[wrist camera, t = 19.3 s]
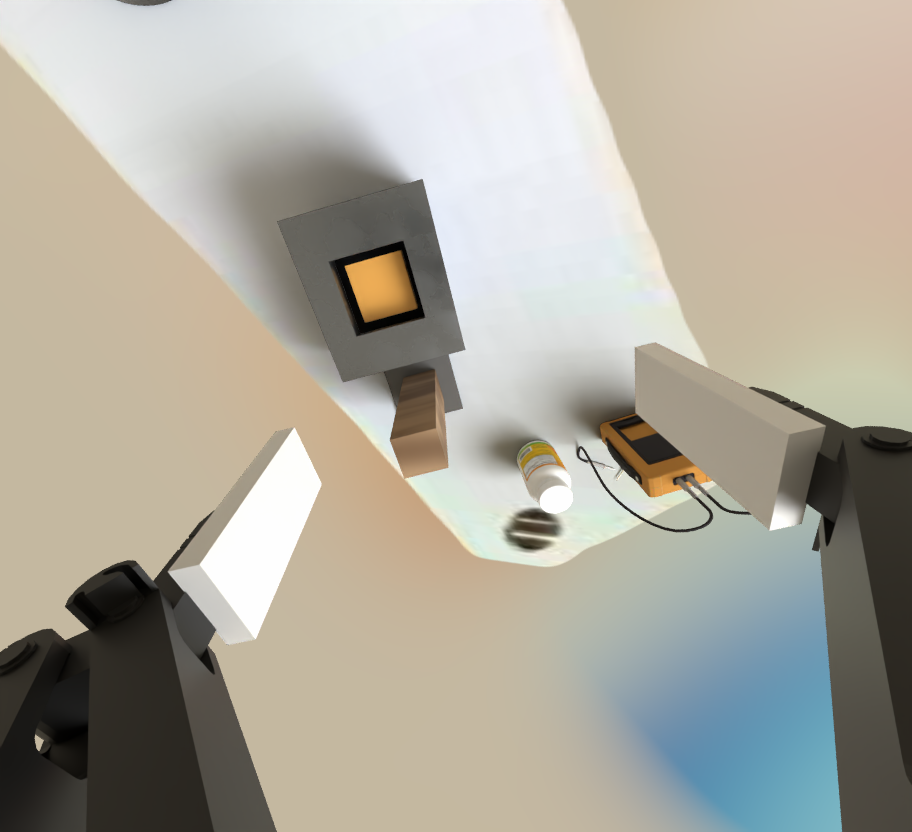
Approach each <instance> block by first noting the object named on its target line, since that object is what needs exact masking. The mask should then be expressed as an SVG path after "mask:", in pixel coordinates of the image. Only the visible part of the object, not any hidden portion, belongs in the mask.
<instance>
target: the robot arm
mask: <svg viewBox="0 0 912 832" xmlns="http://www.w3.org/2000/svg"><path fill="white" fill-rule="evenodd" d="M118 1H121V2H124V3H128V4H133V5H143V6H149V5H158V4H162V3H166V2H168V1H171V0H118ZM635 413H636V414H638V415H639V416H640V417H641V418H642V419H643V420H644V421H645V422H647V423H648V424H649V425H650V426H651V427H652V428H653V429H655V430H656V431H657V432H658V433H659V434H660V435H661V436H663V437H664V438H665V439H666V440H667V441H668V442H669V443H671V444H672V445H673V446H674V447H675V448H676V449H677V450H679V451H680V452H681V453H682V454H683V455H684V456H685V457H687V458H688V459H689V460H690V461H691V462H692V463H693V464H695V465H696V466H697V467H698V468H699V469H700V470H701V471H702V472H704V473H705V474H706V475H707V476H708V477H709V478H710V479H712V480H713V481H714V482H715V483H716V484H717V485H719V486H720V487H721V488H722V489H723V490H724V491H725V492H726V493H728V494H729V495H730V496H731V497H732V498H733V499H734V500H736V501H737V502H738V503H739V504H740V505H741V506H742V507H744V508H745V509H746V510H747V511H748V512H749V513H750V514H752V515H753V516H754V517H755V518H756V519H757V520H758V521H760V522H761V523H762V524H763V525H764V526H765V527H766V528H768V529H769V530H774V529H779V528H784V527H789V526H793V525H798V524H801V523H802V520H803V516H804V512H805V508H806V504H808V505H809V506H811V507H812V508H814V509H815V510H816V511H818V512H819V513H821V514H822V516H821V520H820V523H819V526H818V530H817V533H816V537H815V541H814V544H813V548H812V550H814V551H819V549H820V553H821V566H822V577H823V591H824V604H825V617H826V629H827V642H828V654H829V668H830V681H831V693H832V706H833V719H834V732H835V745H836V758H837V770H838V783H839V795H840V808H841V820H842V821H841V822H842V832H912V433H911V432H908V431H904V430H901V429H895V428H888V427H877V426H876V427H875V426H874V427H873V426H865V427H858V428H853V429H852V428H850V427H847V426H846V425H843V424H841V423H839V422H837V421H835V420H833V419H830V418H828V417H826V416H824V415H822V414H820V413H818V412H815V411H813V410H811V409H809V408H804V406H802V405H800V404H798V403H796V402H794V401H792V402H791V401H790V400H789V399H788V398H785V397H783V396H781V395H779V394H777V393H774V392H771V391H767V390H763V389H759V388H755V387H749V388H747V387H745V386H743V385H741V384H739V383H737V382H735V381H733V380H731V379H729V378H727V377H725V376H723V375H721V374H719V373H717V372H715V371H713V370H711V369H709V368H707V367H704V366H702V365H700V364H698V363H696V362H694V361H692V360H690V359H688V358H686V357H684V356H682V355H680V354H678V353H676V352H674V351H672V350H670V349H668V348H666V347H664V346H662V345H660V344H657V343H651V344H647V345H643V346H638V347H635ZM321 485H322V484H321V482H320V480H319V478H318V475H317V473H316V471H315V470H314V467H313V465H312V463H311V461H310V459H309V457H308V454H307V453H306V450H305V448H304V446H303V444H302V442H301V440H300V438H299V436H298V434H297V431H296V429H295V428H294V427H293V428H289V429H285V430H281V431H276V432H275V433H274V434H273V436H272V437H271V438H270V440H269V441H268V442H267V443H266V445H265V446H264V447H263V449H262V450H261V451H260V452H259V454H258V455H257V456H256V458H255V459H254V460H253V462H252V463H251V464H250V465H249V467H248V468H247V469H246V471H245V472H244V473H243V474H242V476H241V477H240V478H239V480H238V481H237V482H236V484H235V485H234V486H233V487H232V489H231V490H230V491H229V493H228V494H227V495H226V497H225V498H224V499H223V500H222V502H221V503H220V504H219V506H218V507H217V508H216V510H214V511H213V512H212V513H210V514H209V515H208V516H207V517H206V518H205V519H203V520H202V521H201V522H200V523H199V524H198V525H197V527H196V528H195V529H194V530H193V532H192V533H191V534H190V535H189V538H188V539H186V540H185V542H184V543H183V544H182V545H181V547H180V550H177V552H176V553H175V554H174V555H173V557H172V558H171V559H170V561H169V562H168V563H167V564H166V566H165V567H164V568H163V569H162V571H161V572H160V573H159V575H158V576H157V577H156V578H155V580H154V581H152V580H151V578H150V577H149V576H148V575H147V574H146V573H145V571H144V570H143V569H142V568H141V567H140V566H139V564H138V563H137V562H136V561H130V560H127V561H124V562H121V563H117V564H115V565H112V566H110V567H108V568H106V569H104V570H102V571H101V572H99V573H98V574H96V575H94V576H93V577H91V578H90V579H89V580H87V581H86V582H85V583H84V584H82V585H81V586H80V587H79V588H78V589H77V590H76V591H75V592H74V593H73V594H72V595H71V596H70V597H69V599H68V601H67V603H66V605H65V607H66V608H67V609H68V610H69V611H70V612H71V613H72V614H73V615H74V616H75V617H76V618H77V619H78V620H80V622H82V623H83V624H84V625H85V626H86V627H87V628H88V629H89V630H88V631H86V632H83V633H81V634H79V635H77V636H74V637H72V638H70V639H68V640H64V639H63V638H62V637H61V636H60V635H58V634H57V633H56V632H55V631H54V630H53V629H43V630H40V631H37V632H35V633H32V634H30V635H28V636H26V637H25V638H23V639H21V640H19V641H16V642H14V643H13V644H11V645H10V646H8V648H7V649H6V648H5V649H4V650H3V651H1V652H0V832H277V831H276V828H275V825H274V822H273V820H272V817H271V814H270V811H269V808H268V805H267V803H266V799H265V797H264V794H263V791H262V788H261V785H260V782H259V779H258V776H257V773H256V771H255V768H254V765H253V762H252V759H251V756H250V754H249V751H248V748H247V745H246V742H245V739H244V736H243V733H242V730H241V727H240V725H239V722H238V719H237V716H236V714H235V710H234V707H233V705H232V702H231V699H230V696H229V693H228V690H227V687H226V684H225V682H224V679H223V676H222V673H221V670H220V667H219V664H218V661H217V658H216V656H215V654H214V652H213V651H212V650H211V649H210V648H209V646H208V644H209V642H210V640H211V638H212V637H213V635H214V633H215V631H216V632H217V633H218V634H219V635H220V637H221V638H222V639H223V640H224V642H225V643H226V644H227V645H230V644H235V643H240V642H244V641H249V640H254V639H256V637H257V635H258V632H259V630H260V628H261V625H262V623H263V620H264V618H265V616H266V613H267V611H268V609H269V606H270V604H271V602H272V599H273V597H274V594H275V592H276V590H277V588H278V585H279V583H280V580H281V578H282V576H283V574H284V571H285V569H286V567H287V564H288V562H289V560H290V557H291V555H292V552H293V550H294V548H295V545H296V543H297V541H298V538H299V536H300V533H301V531H302V529H303V527H304V524H305V522H306V520H307V517H308V515H309V512H310V510H311V508H312V506H313V503H314V501H315V499H316V496H317V494H318V491H319V489H320V487H321ZM35 734H36V735H37V736H39V737H40V738H41V739H43V740H44V742H43V744H42V747H41V749H40V751H38V750H37V749H36V744H35V739H34V738H35Z"/></svg>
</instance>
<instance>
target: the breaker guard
mask: <svg viewBox="0 0 912 832" xmlns="http://www.w3.org/2000/svg"><path fill="white" fill-rule="evenodd" d="M277 222H278V225H279V227H280V230H281V232H282V235H283V237H284V239H285V242H286V244H287V247H288V249H289V252H290V254H291V257H292V259H293V261H294V264H295V266H296V269H297V271H298V274H299V276H300V279H301V281H302V283H303V286H304V288H305V291H306V293H307V296H308V298H309V301H310V303H311V305H312V308H313V310H314V313H315V315H316V318H317V320H318V323H319V325H320V327H321V330H322V332H323V335H324V337H325V340H326V342H327V344H328V347H329V349H330V352H331V354H332V357H333V359H334V362H335V364H336V366H337V369H338V371H339V374H340V376H341V379H342V381H343V382H346V381H349V380H353V379H357V378H361V377H365V376H368V375H372V374H376V373H380V372H383V371H387V370H391V369H395V368H398V367H402V366H406V365H410V364H413V363H417V362H421V361H425V360H429V359H432V358H436V357H440V356H444V355H447V354H451V353H455V352H459V351H462V350H465V347H464V343H463V339H462V335H461V331H460V327H459V323H458V319H457V315H456V311H455V307H454V303H453V299H452V295H451V291H450V287H449V283H448V279H447V275H446V271H445V267H444V263H443V259H442V255H441V251H440V247H439V243H438V239H437V235H436V231H435V227H434V223H433V219H432V215H431V211H430V207H429V203H428V199H427V195H426V191H425V187H424V183H423V179H421V180H417V181H414V182H411V183H407V184H404V185H400V186H397V187H393V188H390V189H387V190H383V191H380V192H376V193H373V194H370V195H366V196H363V197H359V198H356V199H353V200H349V201H346V202H342V203H339V204H335V205H332V206H329V207H325V208H322V209H318V210H315V211H312V212H308V213H305V214H301V215H298V216H295V217H291V218H288V219H284V220H281V221H277ZM400 241H404V244H405V248H406V251H407V255H408V258H409V262H410V265H411V269H412V272H413V276H414V279H415V283H416V286H417V290H418V293H419V297H420V300H421V304H422V307H423V311H424V314H425V316H424V317H420V318H416V319H413V320H409V321H405V322H402V323H398V324H394V325H391V326H387V327H383V328H380V329H376V330H372V331H369V332H365V333H360V330H359V327H358V325H357V322H356V319H355V317H354V314H353V311H352V308H351V306H350V303H349V300H348V297H347V295H346V292H345V289H344V287H343V284H342V281H341V278H340V276H339V273H338V270H337V267H336V265H335V262H334V260H337V259H340V258H344V257H347V256H351V255H354V254H358V253H361V252H365V251H368V250H372V249H375V248H379V247H383V246H386V245H390V244H393V243H397V242H400Z"/></svg>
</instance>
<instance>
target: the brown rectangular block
mask: <svg viewBox="0 0 912 832" xmlns="http://www.w3.org/2000/svg"><path fill="white" fill-rule="evenodd" d="M390 442H391V444H392V447H393V450H394V452H395V455H396V457H397V460H398V463H399V465H400V468H401V471H402V473H403V476H404V479H405V478H409V477H413V476H417V475H421V474H425V473H429V472H433V471H437V470H441V469H445V468H448V454H447V440H446V425H445V411H444V398H443V395H442V391H441V388H440V384H439V381H438V378H437V374H436V371H435V369H434V370H430V371H426V372H423V373H419V374H415V375H411V376H408V377H404V378H403V382H402V387H401V391H400V396H399V400H398V405H397V410H396V414H395V419H394V423H393V428H392V433H391V437H390Z"/></svg>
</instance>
